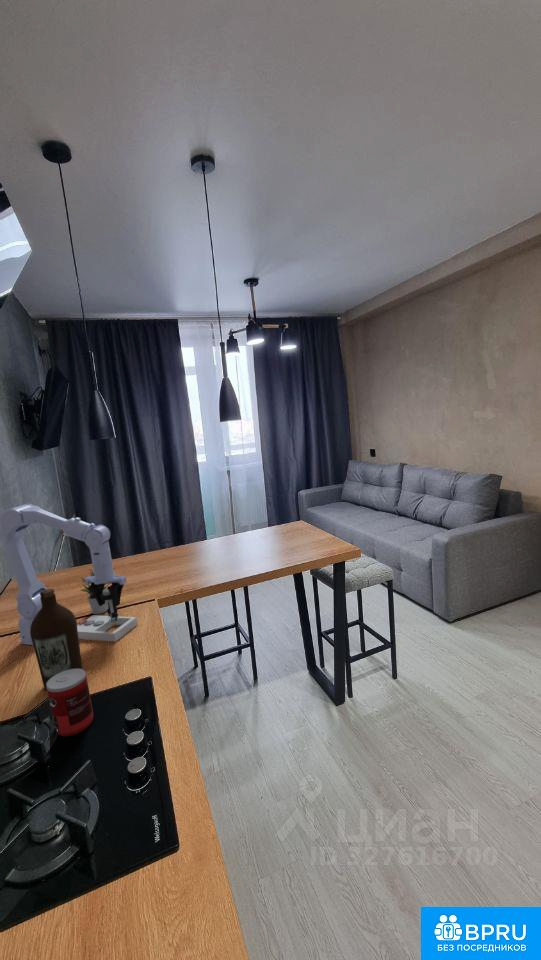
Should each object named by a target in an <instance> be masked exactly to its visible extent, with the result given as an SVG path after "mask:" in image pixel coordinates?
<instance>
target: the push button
mask: <svg viewBox="0 0 541 960" xmlns="http://www.w3.org/2000/svg"><path fill="white" fill-rule="evenodd" d="M100 597H101V598H102V600H105V601H108V609H107V611H106V612H107V614H108V615H107V616H108V617H109V616H110V618H111V623H112V622H113V623H114V622H115V621H117V618H118V617H119V616H120V614H119V612H118V607H117V606H116V607H114V605H113V601H112V597H111V594H110V592H109V590H108V589H107V588H106V589H105V590H103V593H102V594H100ZM109 621H110V619H109Z"/></svg>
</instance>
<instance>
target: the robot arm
mask: <svg viewBox="0 0 541 960" xmlns="http://www.w3.org/2000/svg"><path fill="white" fill-rule="evenodd" d="M81 519H82V518H81V517H72V518H69V519H67V518H64V517H62V516H59V515H57V514H54V513H53V512H49V511H47V510H45V509H43V508H41V507H40V506H38V505H33V504H32V503H24V504H21V505H19V506H15V507H12V508H7V509H5V510H4V511H2V513H1V514H0V541H1V544H2V547H3V549H4V551H5V554H6V557H7V559H8V562H9V564H10V567H11V570H12V573H13V575H14V578H15V580H16V583H17V585H18V588H19V589H18V591H17V594H16V596H15V599H16V601H17V605H16V610H17V612H18V615H20V617H19V619H18V631H19V634H20V641H19V644H20V645H29V646H30V645H31V646H33V643H32V639H31V635H30V629H31V624H32V621H33V620H34V618H35V617H36V615H37V614H38V612H39V611H40V609H41V608H42V603H41V599H40V598H41V595H40V592H41V591H43V590H46V589H48V588H47V587H46V585H45V583H43V582H41V581H40V580H39V579H38V577H37V573H36V572H35V569H34V566H33V564H32V561H31V558H30V556H29V553H28V550H27V547H26V545H25V541H24V539H23V534H24V533H25V531H26V529H27V528H28V527H29V526H31V525H32V524H37V523H39V524H41V525H45V526H48V527H51V528H55V529H59V530H62V531H63V533H64V535H65V536H67V537H71V538H73V539H76V540H78V541H81V542H84V543H85V545H86V546H87V547H88V548H89V552H90V557H91V562H92V563H91V564H92V569H93V570H92V571H93V573H94V575H95V576H91V575H90V576H87V577H85V578H84V580H85V583H84V585H86V584H89V585H90V586H87V587H88V590H90V591H91V594H93V595H94V597H95V598H96V600H97V602H98V604H99V606H102V605H103V604H105V600H102V598H101V597H100V594H102V593H103V590H104V587H106V585H108V584H109V585H108V586H107V587H106V589H108V590H109V592H110V594H111V597H112V601H113V605H114V607H117V606H119V605H121V597H122V591H123V588H124V586H125V584H126V583H127V577H126V576H122V575H117V574H115V571H114V570H115V569H113V568H114V566H113V560H112V553H111V548H110V542H109V540H110V538H111V530H110V529H109V528H108V527H107V526H105V525H104V524H98V525H96V524H95V523H93V522H92V523H89V522H85V521H84V520H81ZM105 584H106V585H105Z"/></svg>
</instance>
